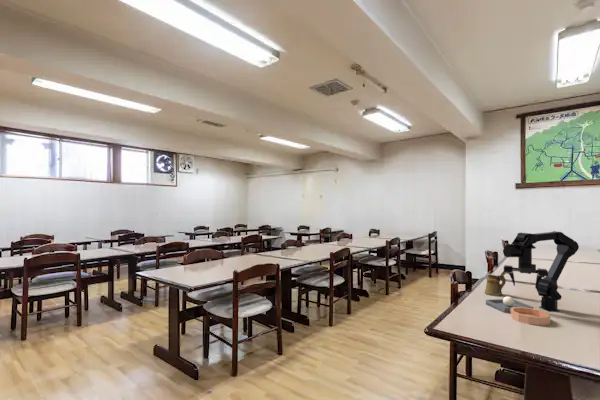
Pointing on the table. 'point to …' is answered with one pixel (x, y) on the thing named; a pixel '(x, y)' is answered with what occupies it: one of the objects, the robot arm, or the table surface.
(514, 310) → the bowl
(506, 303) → the ball
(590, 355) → the table surface
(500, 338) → the table surface
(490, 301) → the tray
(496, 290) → the wooden mug
